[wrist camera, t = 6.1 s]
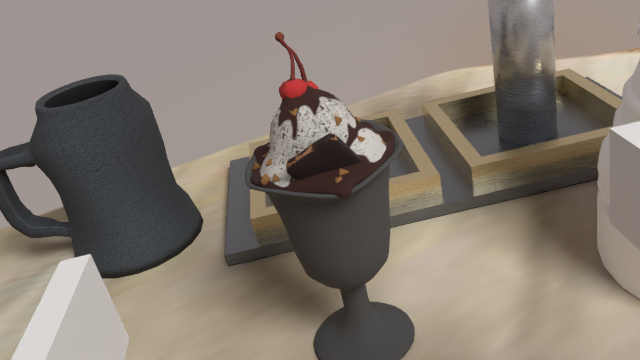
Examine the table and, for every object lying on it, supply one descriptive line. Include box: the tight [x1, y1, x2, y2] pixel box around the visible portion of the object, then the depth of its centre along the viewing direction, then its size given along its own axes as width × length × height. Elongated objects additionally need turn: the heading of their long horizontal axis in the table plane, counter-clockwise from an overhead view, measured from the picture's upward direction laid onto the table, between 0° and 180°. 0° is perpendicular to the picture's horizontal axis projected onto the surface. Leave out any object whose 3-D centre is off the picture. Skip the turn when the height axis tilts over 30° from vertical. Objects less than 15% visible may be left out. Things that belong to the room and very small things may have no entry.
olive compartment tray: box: [225, 0, 622, 266], centre depth 41 cm, size 30×14×15 cm, turn 96°
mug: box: [0, 74, 203, 278], centre depth 41 cm, size 12×9×11 cm
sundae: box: [245, 32, 414, 360], centre depth 27 cm, size 7×7×15 cm
